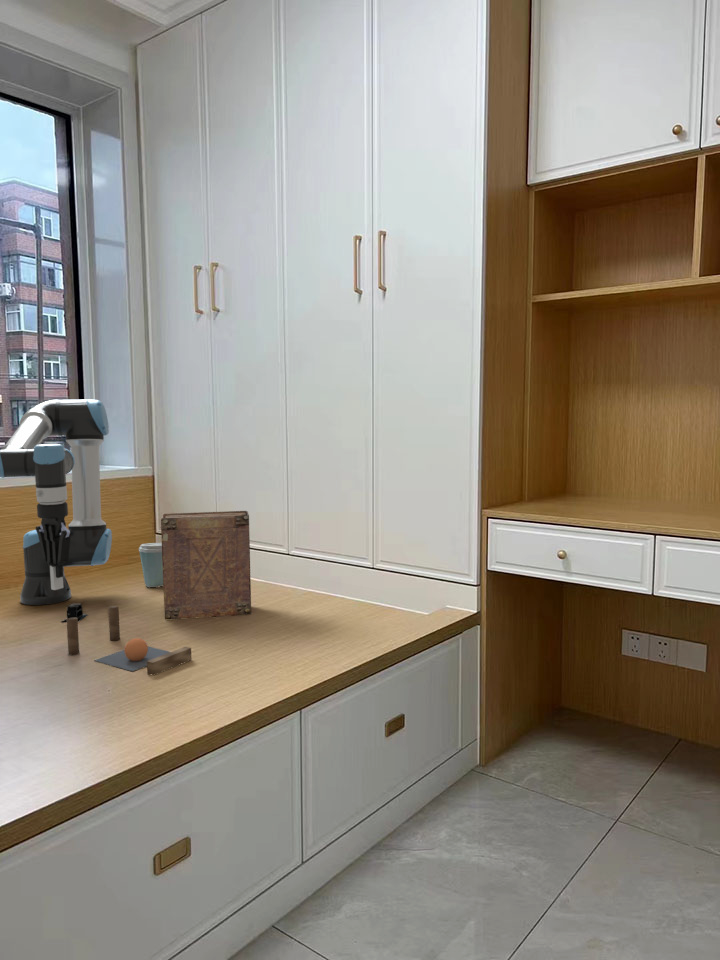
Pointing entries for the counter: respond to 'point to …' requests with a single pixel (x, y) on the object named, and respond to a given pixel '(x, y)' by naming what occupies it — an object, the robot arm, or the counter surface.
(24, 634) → the counter surface
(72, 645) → the outer post
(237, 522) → the book
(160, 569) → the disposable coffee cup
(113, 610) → the inner post
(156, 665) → the stopper wall
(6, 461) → the robot arm
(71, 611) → the black boxy device
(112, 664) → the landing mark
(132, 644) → the ball
